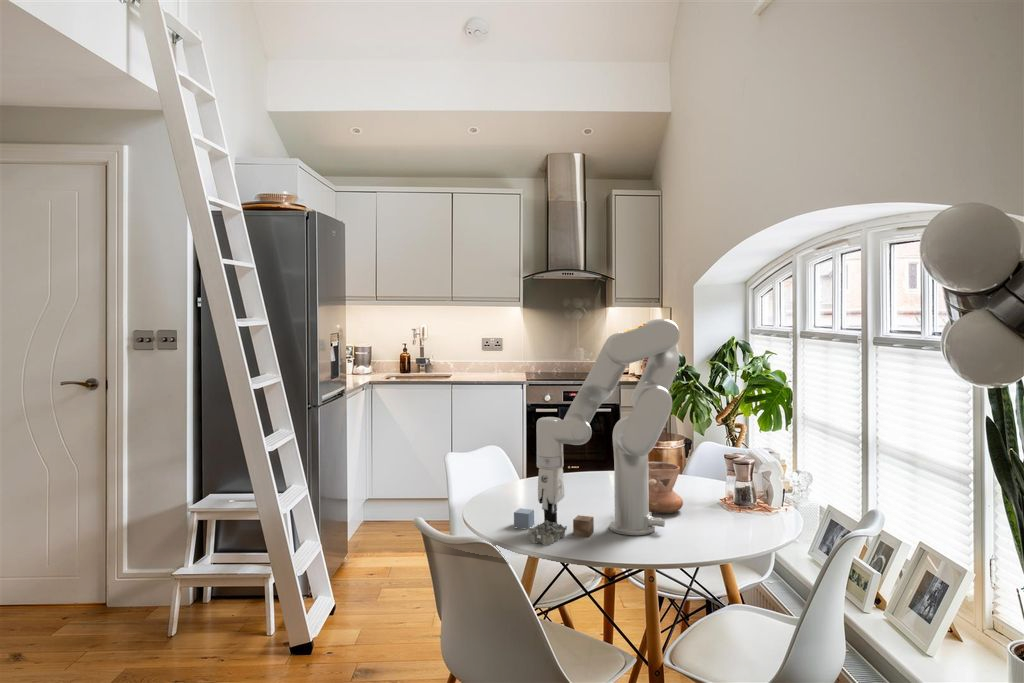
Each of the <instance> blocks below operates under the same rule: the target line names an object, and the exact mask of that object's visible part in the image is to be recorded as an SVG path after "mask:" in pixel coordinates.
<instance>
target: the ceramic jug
mask: <svg viewBox="0 0 1024 683" xmlns="http://www.w3.org/2000/svg"><path fill="white" fill-rule="evenodd" d="M648 463H649V512H652V514H656V515H667V514H668V515H669V514H672V513H675V512H678V511H679V510H681V509H682V507H683V505H684V501H683V498H682V497H681V496H680V495H679V494H678V493H676V492H675V491H674V490H673V488H674V487H675V485H676V482H677V480H678V477H679V474H680V468H681V467H680V466H678V465H676V464H674V463H671V462H666V461H648Z"/></svg>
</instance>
